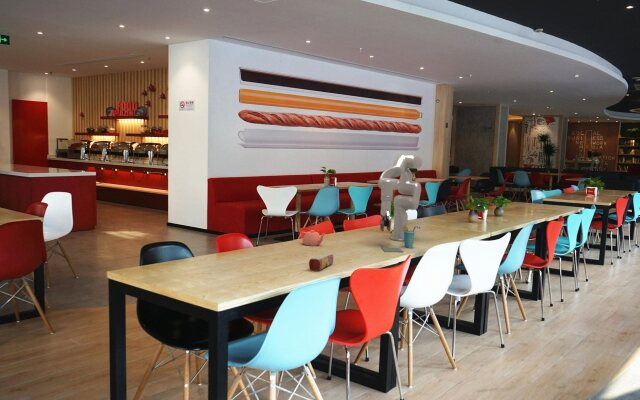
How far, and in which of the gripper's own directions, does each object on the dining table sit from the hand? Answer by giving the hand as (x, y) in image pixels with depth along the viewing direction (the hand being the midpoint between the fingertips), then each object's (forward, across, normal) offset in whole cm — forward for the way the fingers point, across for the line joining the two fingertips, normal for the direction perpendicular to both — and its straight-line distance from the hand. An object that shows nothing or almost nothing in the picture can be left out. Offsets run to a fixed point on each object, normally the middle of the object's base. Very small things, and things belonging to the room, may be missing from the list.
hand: (385, 225), depth 371 cm
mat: (+14, +13, +2) cm, 19 cm away
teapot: (+13, +3, -48) cm, 50 cm away
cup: (+14, +2, +16) cm, 22 cm away
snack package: (+11, +68, -48) cm, 84 cm away
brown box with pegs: (+3, 0, 0) cm, 3 cm away
